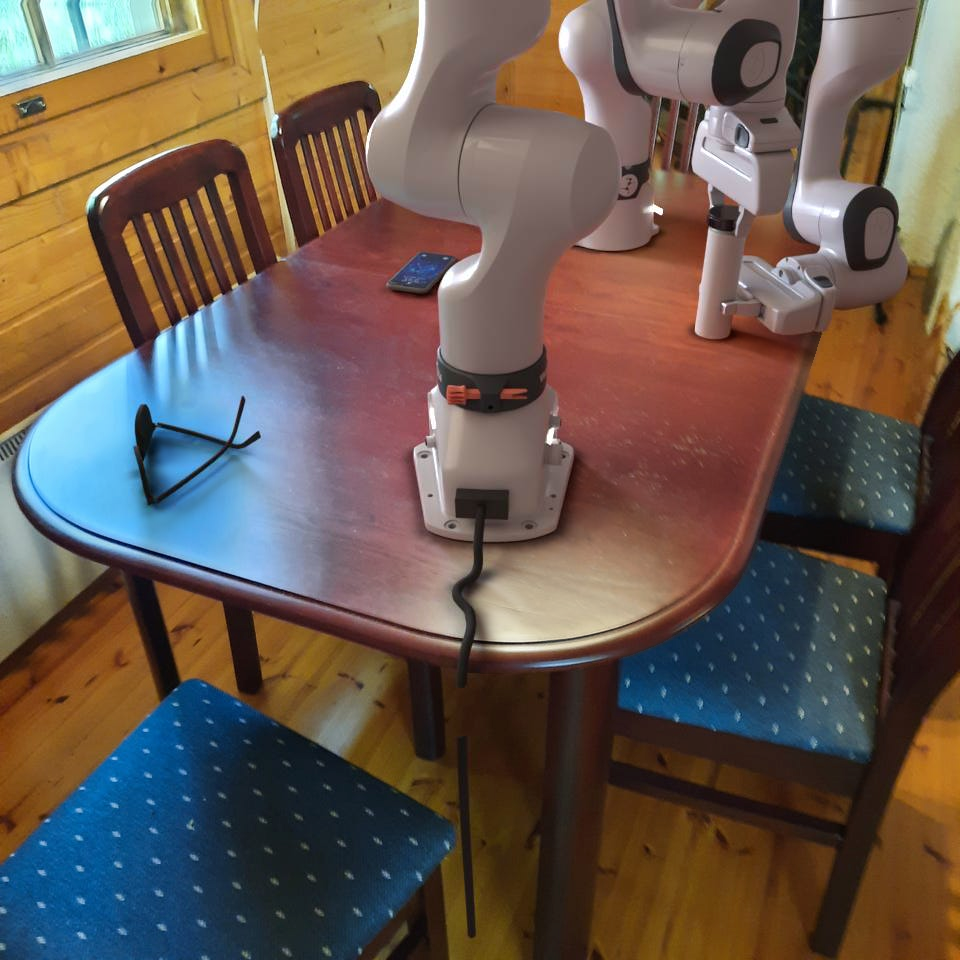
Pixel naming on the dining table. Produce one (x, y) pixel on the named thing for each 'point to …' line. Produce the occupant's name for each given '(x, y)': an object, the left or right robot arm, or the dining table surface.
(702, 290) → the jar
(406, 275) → the smartphone
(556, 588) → the dining table surface
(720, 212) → the lid
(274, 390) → the dining table surface
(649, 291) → the dining table surface
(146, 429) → the sunglasses
